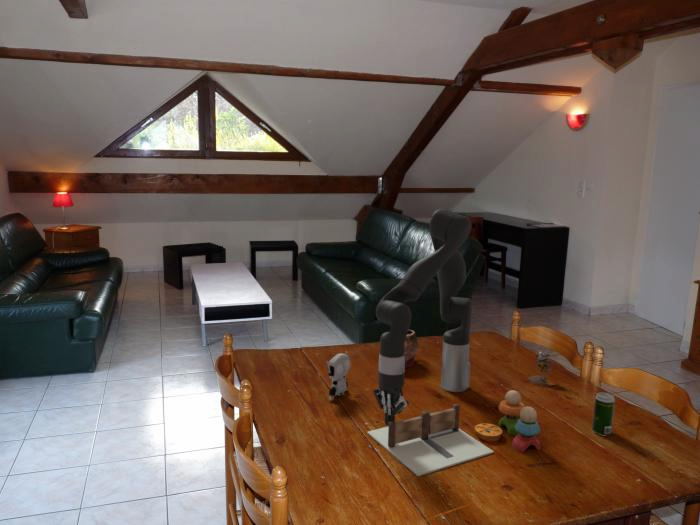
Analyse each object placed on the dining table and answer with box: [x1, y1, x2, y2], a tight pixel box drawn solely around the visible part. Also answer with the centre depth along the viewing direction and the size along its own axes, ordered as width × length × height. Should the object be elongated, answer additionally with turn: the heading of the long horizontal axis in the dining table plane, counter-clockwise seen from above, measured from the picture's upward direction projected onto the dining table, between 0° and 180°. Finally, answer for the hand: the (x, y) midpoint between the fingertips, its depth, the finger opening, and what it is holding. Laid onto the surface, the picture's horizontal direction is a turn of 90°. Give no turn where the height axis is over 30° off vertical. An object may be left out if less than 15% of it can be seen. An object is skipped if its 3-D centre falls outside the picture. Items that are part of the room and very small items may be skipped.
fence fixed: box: [420, 403, 461, 440], centre depth 167 cm, size 14×2×8 cm, turn 119°
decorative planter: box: [404, 329, 419, 369], centre depth 225 cm, size 20×12×14 cm, turn 153°
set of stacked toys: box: [474, 389, 542, 453], centre depth 166 cm, size 18×17×12 cm
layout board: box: [366, 426, 494, 477], centre depth 164 cm, size 26×26×1 cm
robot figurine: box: [527, 351, 553, 387], centre depth 208 cm, size 11×9×12 cm
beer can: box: [591, 392, 616, 436], centre depth 170 cm, size 5×5×12 cm
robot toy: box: [326, 350, 351, 401], centre depth 193 cm, size 12×4×15 cm, turn 149°
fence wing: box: [388, 416, 422, 447], centre depth 161 cm, size 11×2×7 cm, turn 119°
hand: (389, 425), depth 164 cm, fingers closed
